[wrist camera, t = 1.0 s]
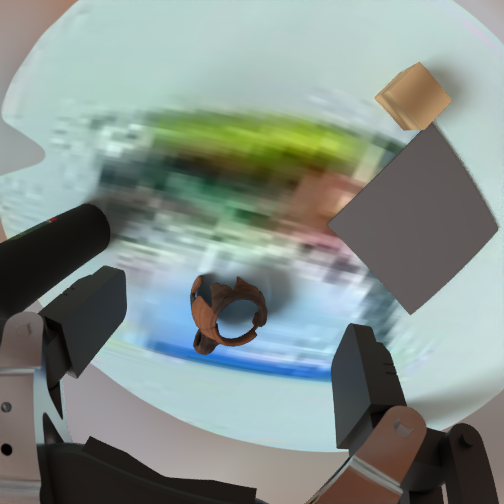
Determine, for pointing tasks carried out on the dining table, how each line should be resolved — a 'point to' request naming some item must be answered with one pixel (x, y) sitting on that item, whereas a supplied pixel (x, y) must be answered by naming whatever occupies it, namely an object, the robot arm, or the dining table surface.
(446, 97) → the oak block
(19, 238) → the wine bottle
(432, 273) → the charcoal mat
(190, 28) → the dining table surface
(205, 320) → the brown hollow rounded piece
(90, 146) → the dining table surface
